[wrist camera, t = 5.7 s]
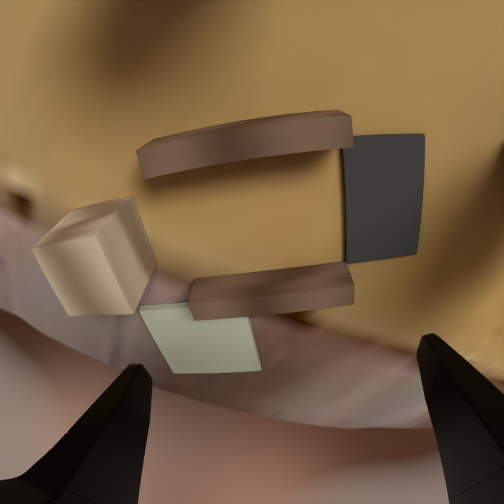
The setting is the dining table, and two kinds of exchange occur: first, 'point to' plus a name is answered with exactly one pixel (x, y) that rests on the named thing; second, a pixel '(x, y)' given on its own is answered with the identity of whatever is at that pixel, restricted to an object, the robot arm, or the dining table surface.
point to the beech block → (98, 258)
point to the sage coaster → (201, 340)
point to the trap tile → (383, 195)
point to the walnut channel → (243, 148)
